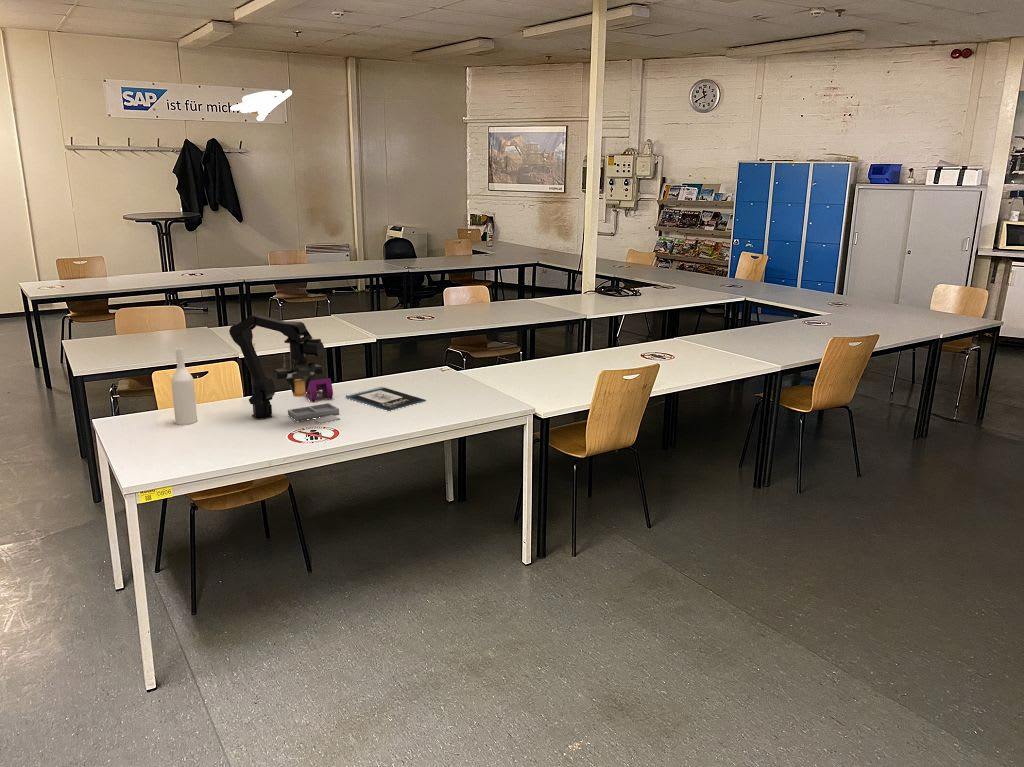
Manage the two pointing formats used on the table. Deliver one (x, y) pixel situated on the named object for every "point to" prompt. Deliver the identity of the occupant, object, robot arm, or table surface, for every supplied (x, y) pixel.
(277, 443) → the table surface
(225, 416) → the table surface
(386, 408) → the sketchbook
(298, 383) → the orange drawer knob
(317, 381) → the mounting bracket
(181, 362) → the bottle
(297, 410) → the housing
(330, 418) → the lid
